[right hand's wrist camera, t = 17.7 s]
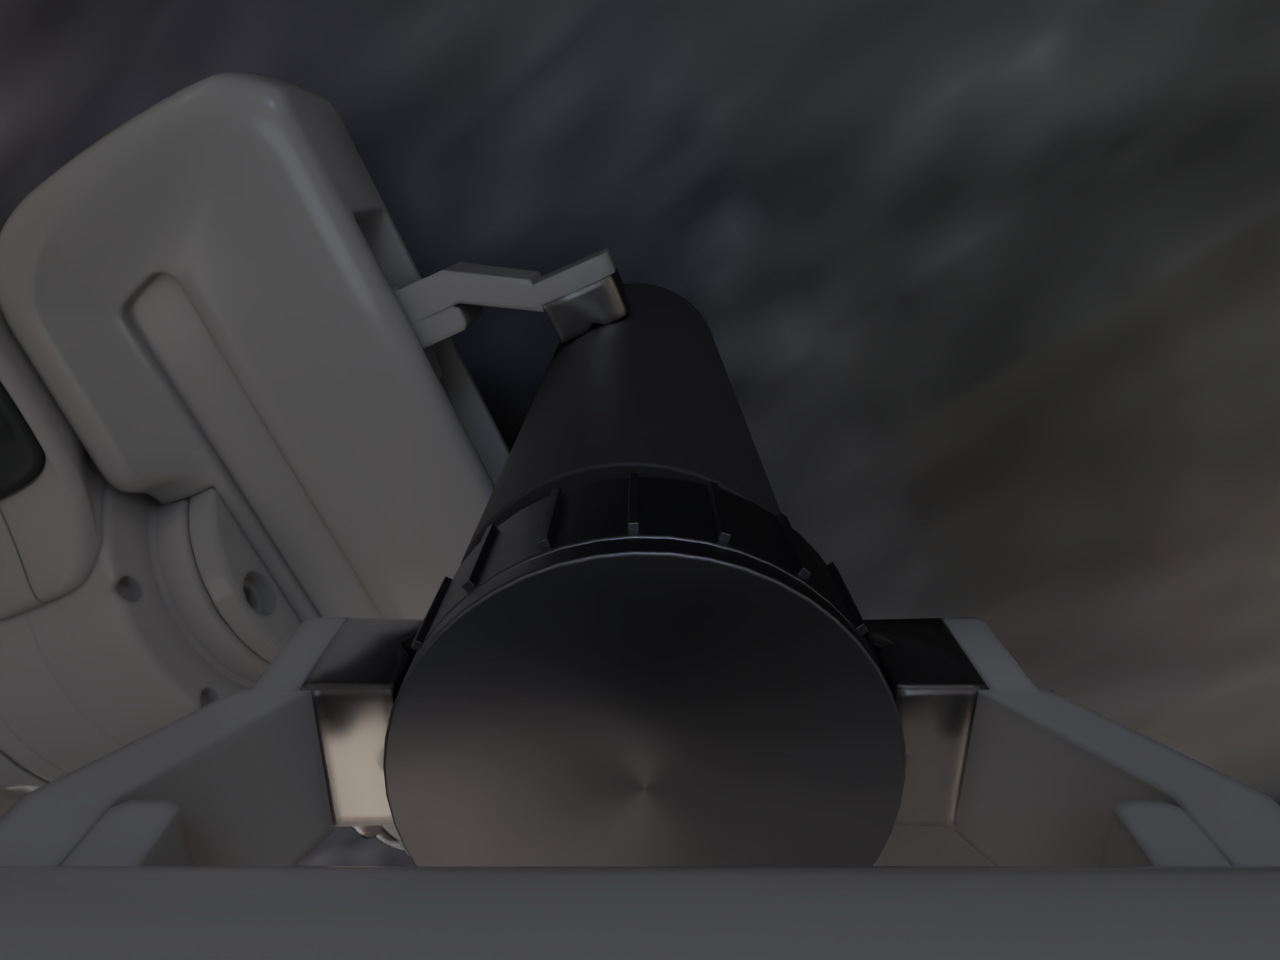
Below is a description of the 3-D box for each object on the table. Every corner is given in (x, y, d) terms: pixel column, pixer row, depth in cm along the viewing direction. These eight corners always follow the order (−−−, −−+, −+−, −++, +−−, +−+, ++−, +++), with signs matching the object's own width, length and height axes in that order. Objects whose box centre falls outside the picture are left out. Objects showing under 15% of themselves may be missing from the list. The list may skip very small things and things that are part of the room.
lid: (393, 478, 9) (331, 554, 7) (875, 459, 9) (936, 532, 7) (451, 850, 11) (414, 987, 9) (852, 837, 11) (895, 972, 9)
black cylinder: (749, 358, 25) (933, 705, 9) (643, 467, 26) (643, 935, 10) (631, 248, 24) (609, 430, 8) (526, 369, 25) (328, 729, 9)
